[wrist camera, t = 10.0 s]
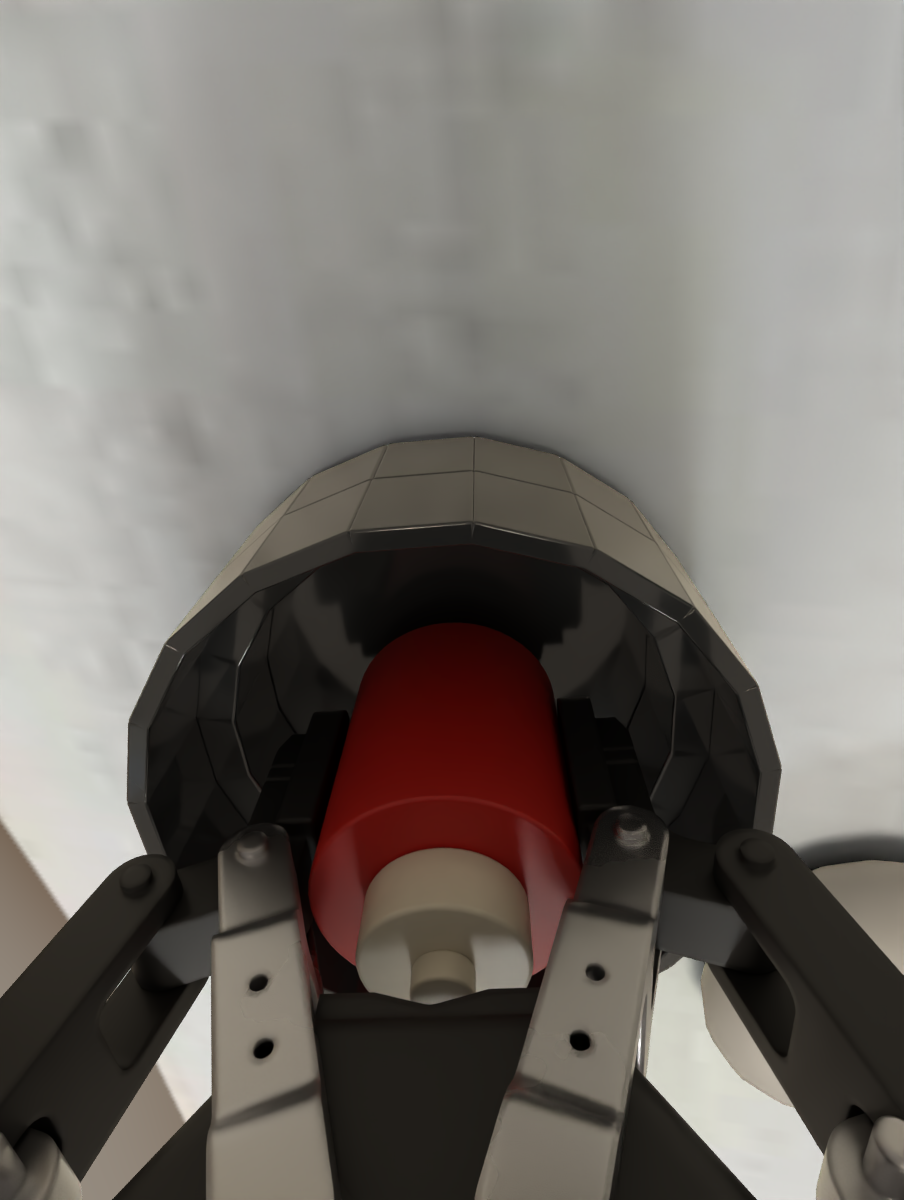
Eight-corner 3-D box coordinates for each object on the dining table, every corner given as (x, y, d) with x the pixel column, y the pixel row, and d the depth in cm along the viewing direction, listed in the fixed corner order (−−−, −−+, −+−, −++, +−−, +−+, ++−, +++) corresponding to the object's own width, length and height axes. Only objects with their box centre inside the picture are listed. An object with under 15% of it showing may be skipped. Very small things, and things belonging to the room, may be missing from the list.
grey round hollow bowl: (172, 456, 17) (28, 555, 11) (705, 410, 16) (824, 493, 10) (278, 841, 22) (215, 1031, 17) (678, 823, 21) (746, 1017, 16)
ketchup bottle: (343, 628, 16) (250, 893, 10) (551, 614, 16) (604, 879, 9) (373, 788, 18) (314, 1095, 12) (557, 778, 18) (604, 1090, 11)
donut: (837, 1064, 27) (1073, 919, 22) (882, 1172, 24) (1165, 1027, 19) (627, 966, 25) (844, 785, 20) (647, 1071, 21) (908, 883, 17)
